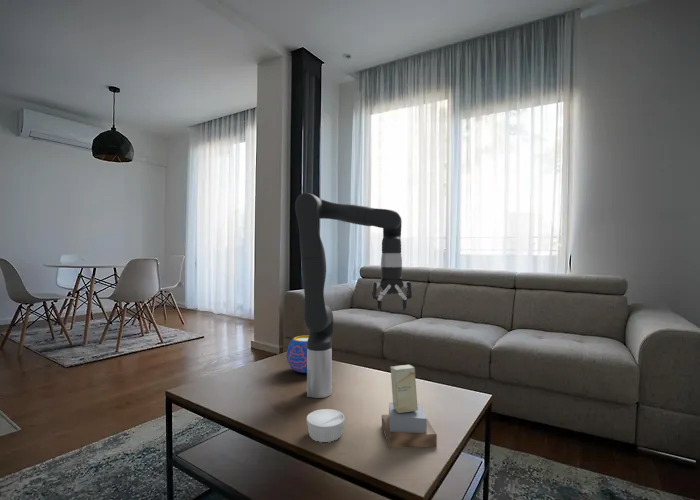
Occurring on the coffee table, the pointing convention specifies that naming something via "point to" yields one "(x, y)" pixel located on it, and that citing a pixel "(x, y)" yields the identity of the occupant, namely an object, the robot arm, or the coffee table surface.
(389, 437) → the walnut base block
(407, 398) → the skincare box
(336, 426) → the ramekin
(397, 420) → the slate top block
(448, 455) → the coffee table surface
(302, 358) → the ceramic pot
